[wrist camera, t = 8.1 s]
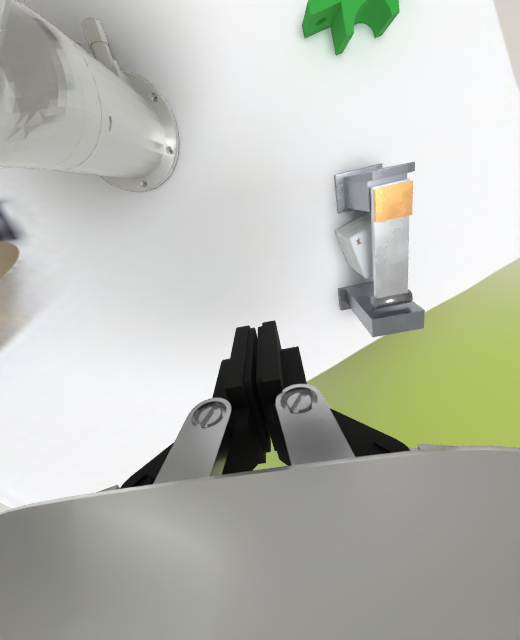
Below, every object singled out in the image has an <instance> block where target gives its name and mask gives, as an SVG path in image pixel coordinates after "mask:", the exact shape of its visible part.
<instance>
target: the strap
mask: <svg viewBox="0 0 520 640" xmlns="http://www.w3.org/2000/svg"><path fill="white" fill-rule="evenodd" d="M370 195H371V223H372V250H373V278H374V296H372V297H370V304H371V307H372V309H379V308H384V307H389V306H394V305H400V304H405V303H410V302H412V293H411V291H410V290H408V245H409V215H412V195H413V181H410V179H403V180H399V181H395V182H391V183H386V184H382V185H378V186H374V187H370Z"/></svg>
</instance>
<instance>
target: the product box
mask: <svg viewBox="0 0 520 640" xmlns="http://www.w3.org/2000/svg"><path fill="white" fill-rule="evenodd" d="M335 233H336V235H337V238H338V240H339V243H340V245H341V248H342V250H343V252H344V255H345V257H346V259H347V262H348V264H349V266H350V267H352V268H353V269H354V270H355V271H356V272H357V273H359V274H360V275H361V276H362V277H364V278H365V279H367V278H369V277H371V276H373V250H372V223H371V212H368V213H366V214H364V215H362V216H360V217H359V218H357V219H355V220H353V221H351V222H349V223H348V224H346V225H344V226H342V227H340V228H339V229H337V230H335ZM409 258H410V254H409V251H408V259H409Z"/></svg>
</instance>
